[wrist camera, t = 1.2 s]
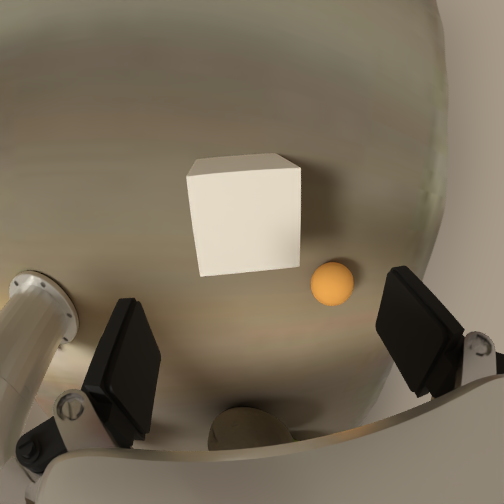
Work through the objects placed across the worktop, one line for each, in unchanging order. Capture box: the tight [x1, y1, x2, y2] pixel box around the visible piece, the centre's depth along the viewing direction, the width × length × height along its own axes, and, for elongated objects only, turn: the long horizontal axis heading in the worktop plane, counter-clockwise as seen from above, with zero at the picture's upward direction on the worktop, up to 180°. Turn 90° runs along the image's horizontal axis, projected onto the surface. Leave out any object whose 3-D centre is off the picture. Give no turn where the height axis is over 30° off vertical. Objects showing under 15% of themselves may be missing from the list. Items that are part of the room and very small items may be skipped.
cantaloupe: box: [208, 407, 294, 451], centre depth 38 cm, size 14×14×15 cm
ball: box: [311, 262, 354, 306], centre depth 31 cm, size 5×5×5 cm
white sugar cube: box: [186, 153, 301, 277], centre depth 23 cm, size 8×8×9 cm
